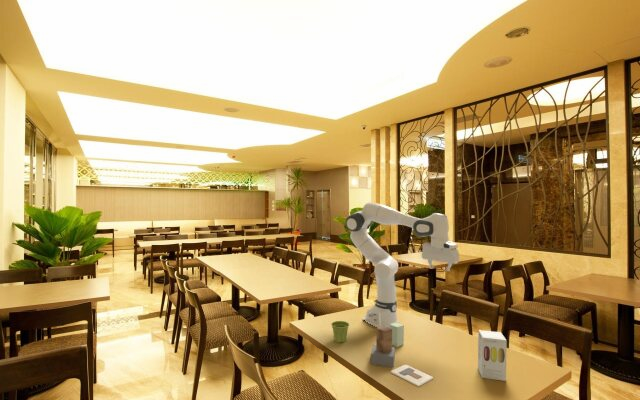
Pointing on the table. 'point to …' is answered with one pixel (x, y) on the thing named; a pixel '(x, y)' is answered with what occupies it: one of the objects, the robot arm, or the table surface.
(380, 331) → the walnut block
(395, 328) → the sage block
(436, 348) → the table surface
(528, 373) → the table surface
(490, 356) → the supplement box
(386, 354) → the charcoal base block
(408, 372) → the card
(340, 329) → the plant pot
